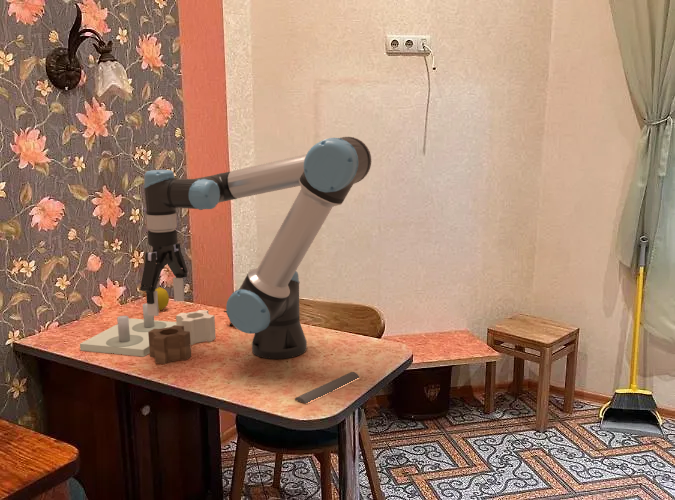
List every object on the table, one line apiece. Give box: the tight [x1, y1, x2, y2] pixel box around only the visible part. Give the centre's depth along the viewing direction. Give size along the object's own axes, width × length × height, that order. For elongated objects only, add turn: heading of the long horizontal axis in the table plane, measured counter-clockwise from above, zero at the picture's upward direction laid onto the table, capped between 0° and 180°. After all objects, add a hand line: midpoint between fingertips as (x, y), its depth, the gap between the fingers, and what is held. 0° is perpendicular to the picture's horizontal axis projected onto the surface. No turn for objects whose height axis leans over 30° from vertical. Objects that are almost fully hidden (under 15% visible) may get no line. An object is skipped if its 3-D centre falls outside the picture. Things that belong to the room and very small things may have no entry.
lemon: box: [155, 286, 170, 311], centre depth 222 cm, size 6×6×8 cm
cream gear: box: [175, 309, 217, 346], centre depth 194 cm, size 11×11×7 cm
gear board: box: [79, 302, 177, 358], centre depth 193 cm, size 20×24×9 cm
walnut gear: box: [148, 325, 192, 365], centre depth 180 cm, size 11×11×7 cm
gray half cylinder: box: [294, 371, 360, 404], centre depth 158 cm, size 4×20×2 cm, turn 139°
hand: (166, 307), depth 178 cm, fingers open, 13 cm apart
